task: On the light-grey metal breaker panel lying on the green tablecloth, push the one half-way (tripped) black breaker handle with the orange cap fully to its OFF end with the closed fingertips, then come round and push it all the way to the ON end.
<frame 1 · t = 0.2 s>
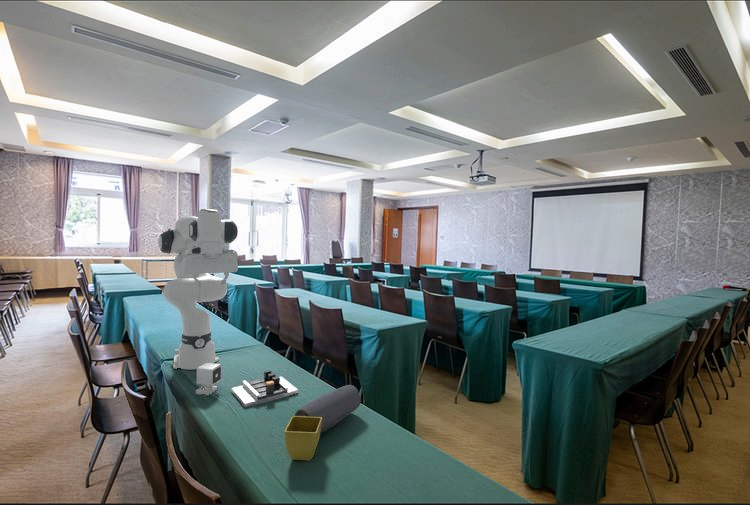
hand: (211, 285, 149), 39 cm above the table, tool pointing down, fingers open, 8 cm apart
bluetooth speaker: (328, 425, 122), on the table
flower pot: (303, 455, 105), on the table
security camera: (208, 392, 143), on the table
breaker panel: (264, 392, 143), on the table
breaker handle: (269, 387, 138), point 4 cm above the table, slide at -0.5 cm
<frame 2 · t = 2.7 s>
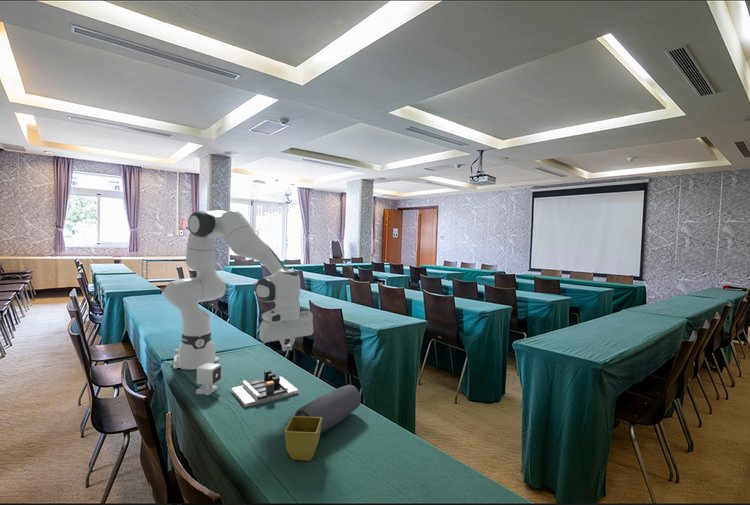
hand: (287, 350, 141), 17 cm above the table, tool pointing down, fingers closed
nothing on the table moved.
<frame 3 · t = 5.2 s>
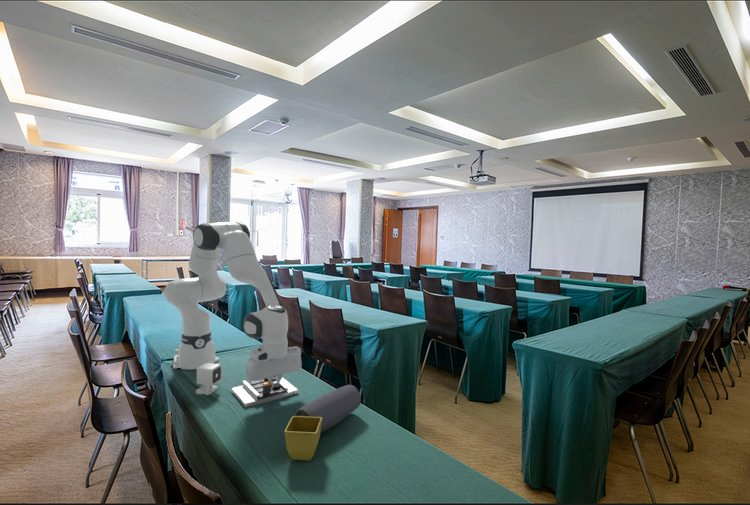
hand: (274, 387, 139), 4 cm above the table, tool pointing down, fingers closed
breaker handle: (266, 387, 137), point 4 cm above the table, slide at -1.7 cm, touching gripper
everything else where it was.
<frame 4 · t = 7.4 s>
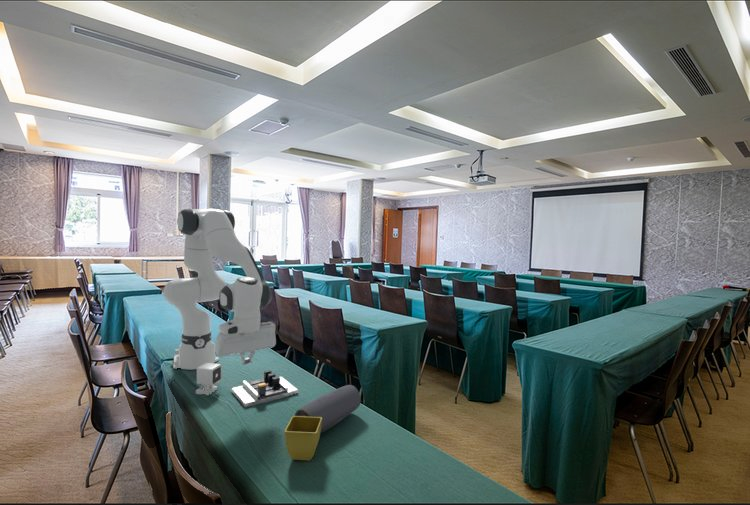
hand: (246, 363, 132), 15 cm above the table, tool pointing down, fingers closed
breaker handle: (261, 389, 136), point 4 cm above the table, slide at -3.6 cm
everything else where it was.
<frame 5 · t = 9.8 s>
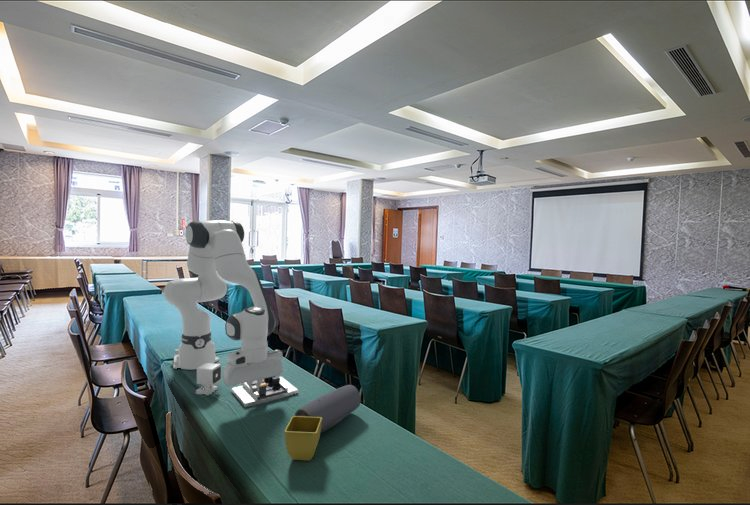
hand: (254, 391, 134), 4 cm above the table, tool pointing down, fingers closed
breaker handle: (262, 388, 136), point 4 cm above the table, slide at -3.4 cm, touching gripper
everything else where it was.
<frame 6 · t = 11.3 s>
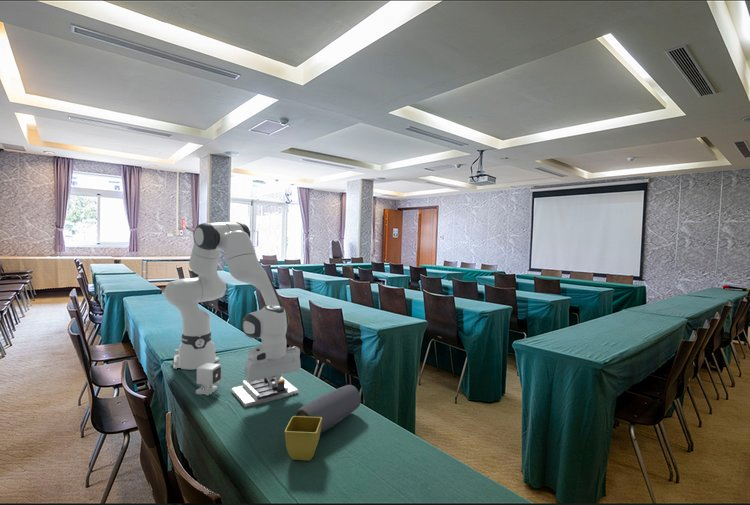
hand: (273, 387, 139), 4 cm above the table, tool pointing down, fingers closed
breaker handle: (280, 384, 140), point 5 cm above the table, slide at 3.6 cm, touching gripper
everything else where it was.
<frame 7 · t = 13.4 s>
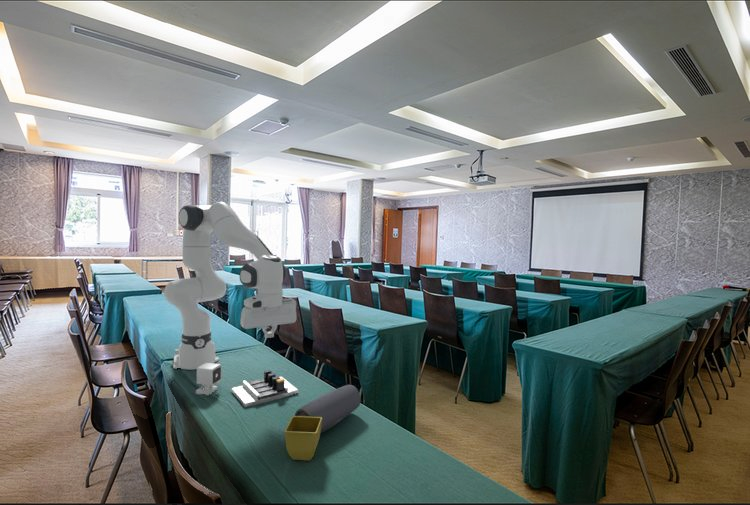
hand: (269, 337, 139), 22 cm above the table, tool pointing down, fingers closed
breaker handle: (280, 384, 140), point 5 cm above the table, slide at 3.6 cm
everything else where it was.
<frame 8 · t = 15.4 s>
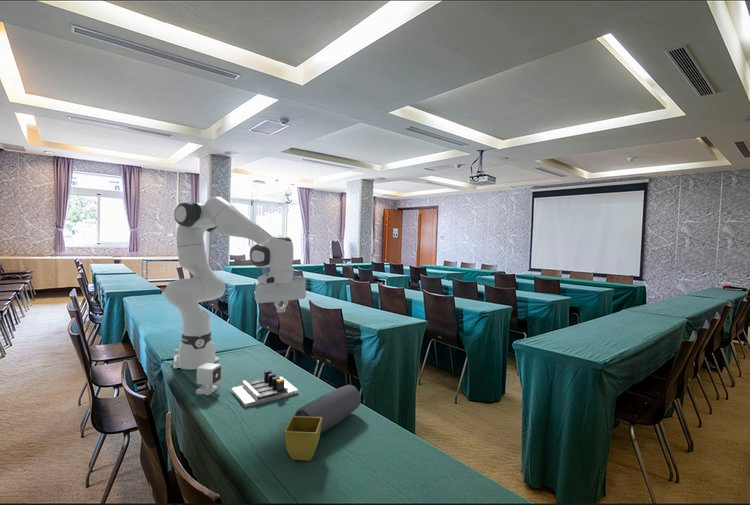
hand: (281, 312, 150), 29 cm above the table, tool pointing down, fingers closed
nothing on the table moved.
at the end: breaker handle slide at 3.6 cm; breaker handle touching nothing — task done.
